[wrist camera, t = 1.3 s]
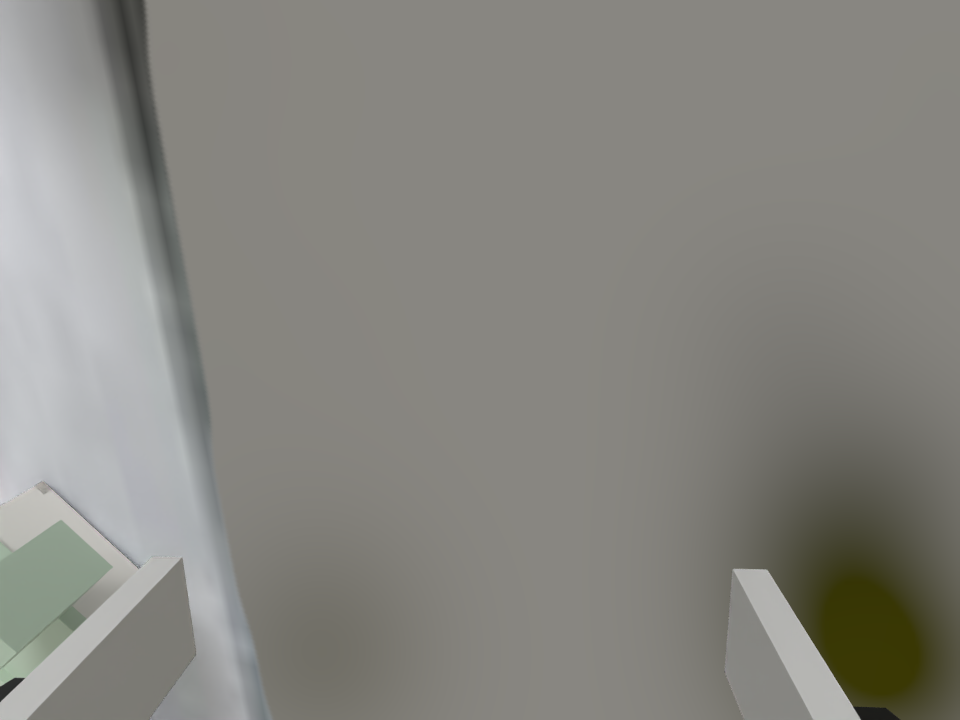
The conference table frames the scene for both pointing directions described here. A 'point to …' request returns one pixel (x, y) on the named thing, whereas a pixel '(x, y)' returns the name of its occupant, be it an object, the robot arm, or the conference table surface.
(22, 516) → the tub
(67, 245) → the conference table surface
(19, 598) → the lid
